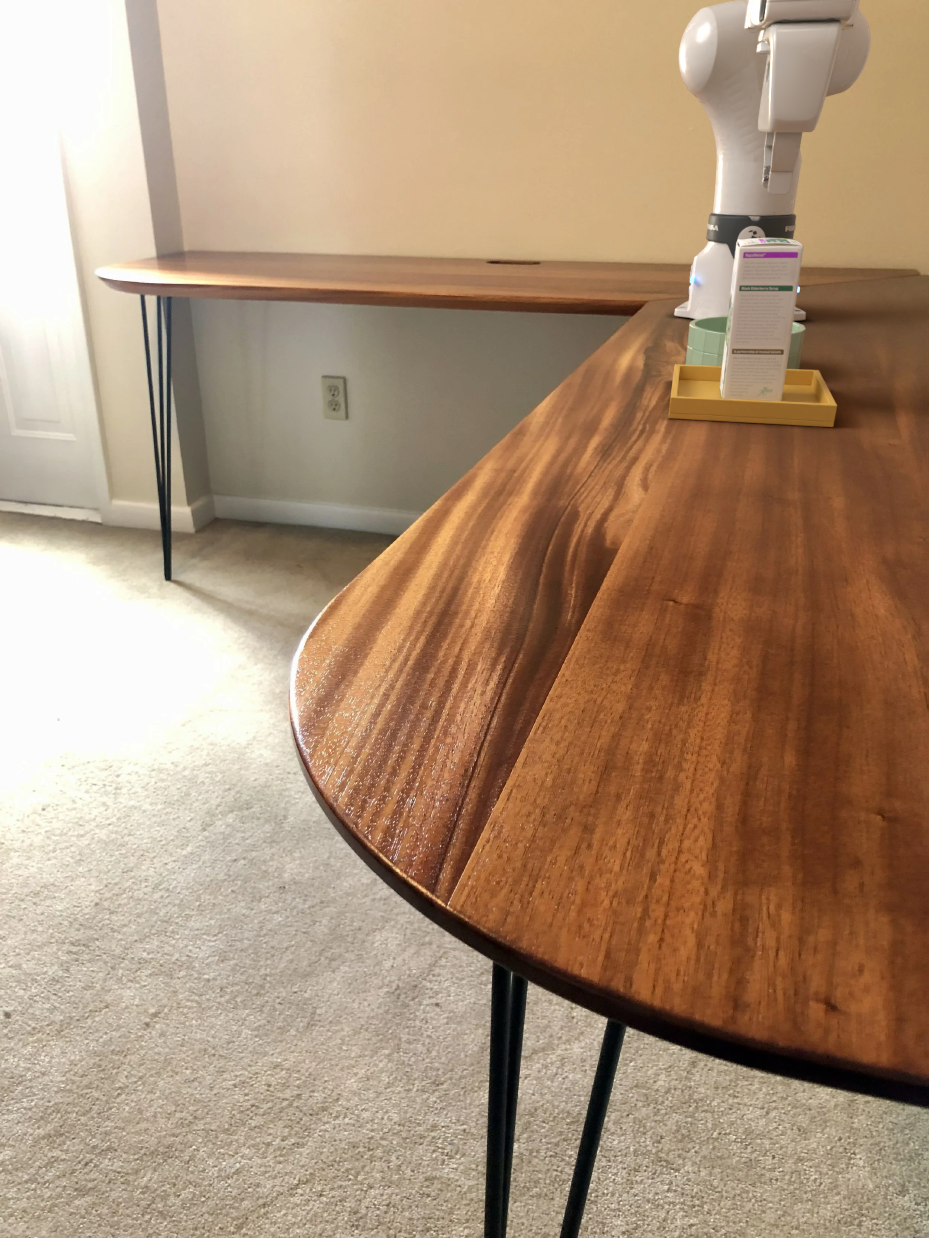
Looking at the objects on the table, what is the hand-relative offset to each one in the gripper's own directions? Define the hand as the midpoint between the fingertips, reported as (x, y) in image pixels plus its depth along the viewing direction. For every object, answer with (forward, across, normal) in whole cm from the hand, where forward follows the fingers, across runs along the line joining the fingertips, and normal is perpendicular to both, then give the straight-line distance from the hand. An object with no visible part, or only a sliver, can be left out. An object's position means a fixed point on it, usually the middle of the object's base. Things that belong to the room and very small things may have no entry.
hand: (774, 191), depth 79 cm
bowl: (+19, -14, 0) cm, 24 cm away
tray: (+19, 0, 0) cm, 19 cm away
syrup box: (+19, 0, 0) cm, 19 cm away
